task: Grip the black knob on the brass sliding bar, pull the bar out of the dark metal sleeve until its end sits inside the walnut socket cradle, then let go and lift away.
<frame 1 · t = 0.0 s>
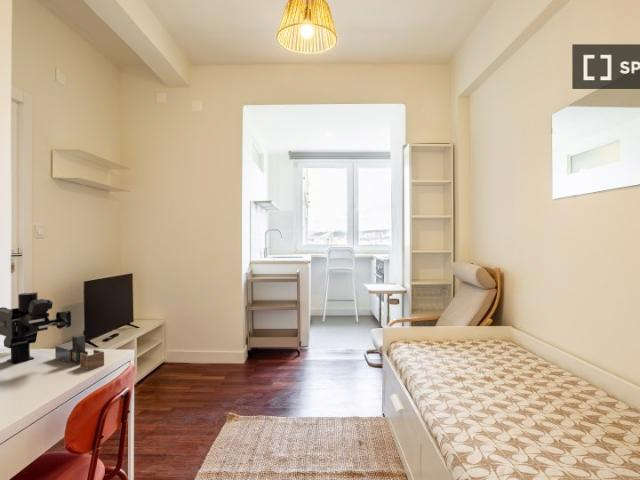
hand: (53, 326, 129), 16 cm above the table, fingers open, 9 cm apart
slider: (72, 345, 142), point 6 cm above the table, slide at 0.0 cm
sleeve: (69, 358, 143), on the table
socket: (91, 365, 135), on the table
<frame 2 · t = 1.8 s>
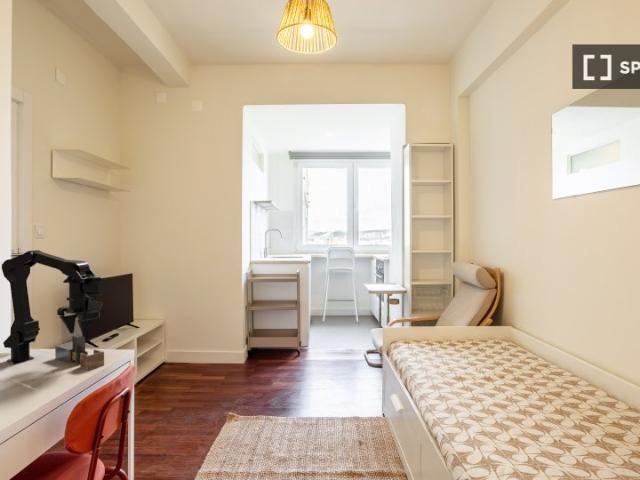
hand: (78, 334, 139), 10 cm above the table, fingers open, 9 cm apart
nothing on the table moved.
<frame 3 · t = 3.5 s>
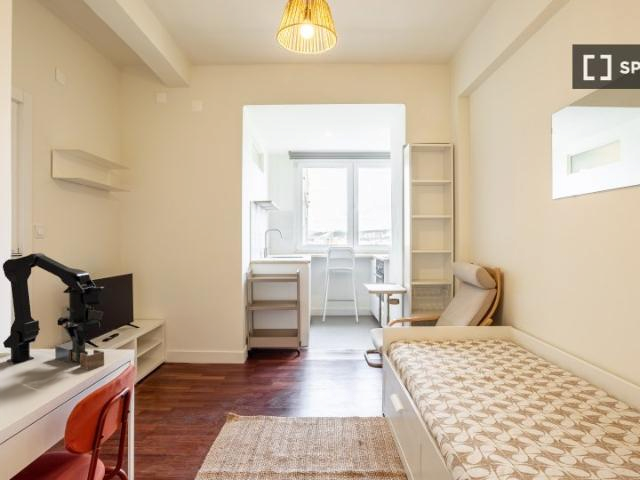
hand: (78, 345, 139), 7 cm above the table, fingers closed on slider, 3 cm apart
slider: (72, 345, 142), point 6 cm above the table, slide at 0.0 cm, touching gripper
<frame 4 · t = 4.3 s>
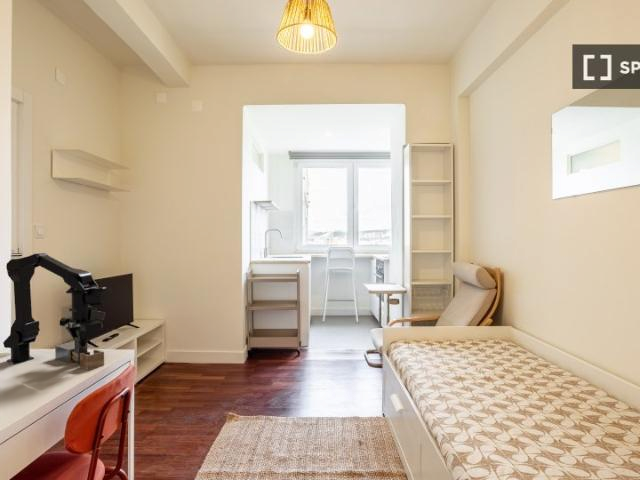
hand: (81, 345, 139), 7 cm above the table, fingers closed on slider, 3 cm apart
slider: (74, 346, 141), point 6 cm above the table, slide at 1.5 cm, touching gripper
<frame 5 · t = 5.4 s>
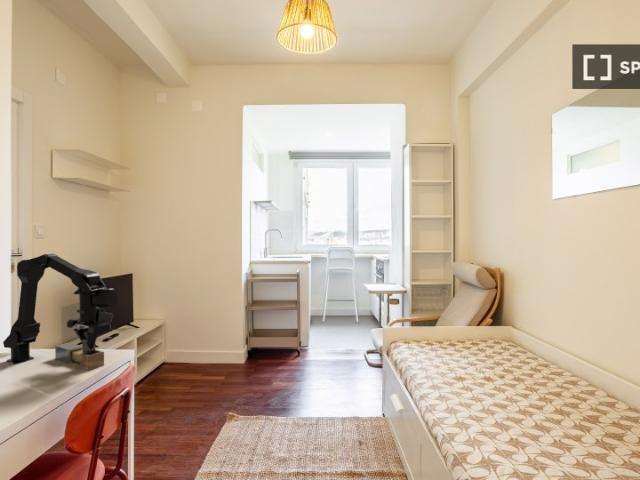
hand: (88, 347, 136), 7 cm above the table, fingers closed on slider, 3 cm apart
slider: (82, 348, 138), point 6 cm above the table, slide at 6.9 cm, touching gripper
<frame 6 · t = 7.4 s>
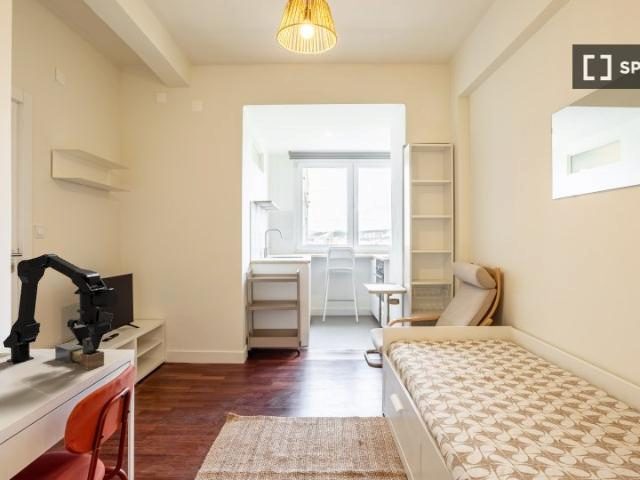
hand: (89, 347, 136), 7 cm above the table, fingers open, 9 cm apart
slider: (82, 348, 138), point 6 cm above the table, slide at 7.0 cm
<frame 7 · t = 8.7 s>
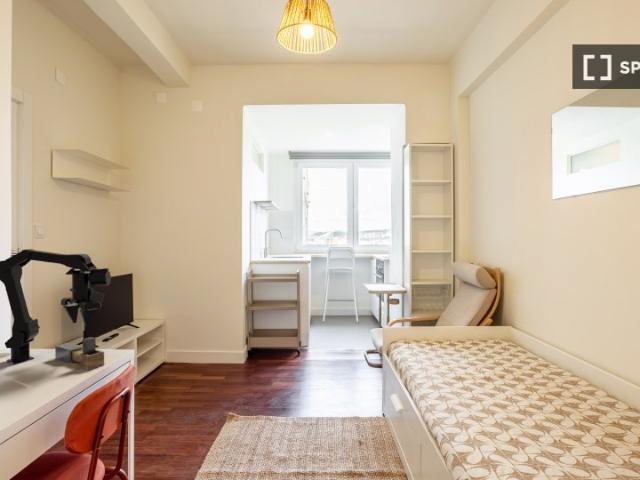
hand: (80, 324, 145), 13 cm above the table, fingers open, 9 cm apart
nothing on the table moved.
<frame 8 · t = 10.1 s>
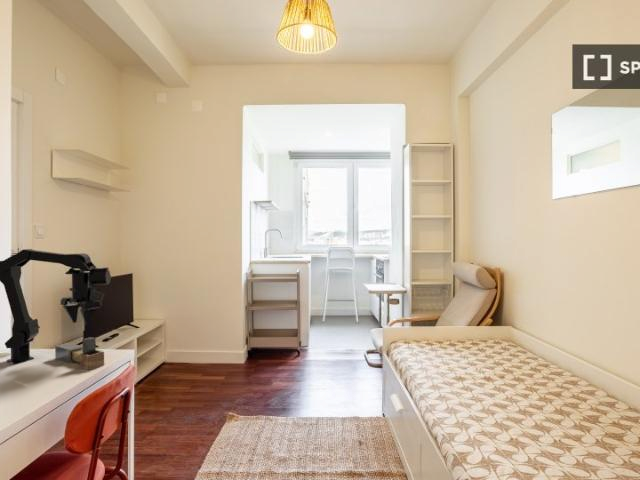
hand: (81, 323, 146), 13 cm above the table, fingers open, 9 cm apart
nothing on the table moved.
at the end: slider slide at 7.0 cm; the gripper is holding nothing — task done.
